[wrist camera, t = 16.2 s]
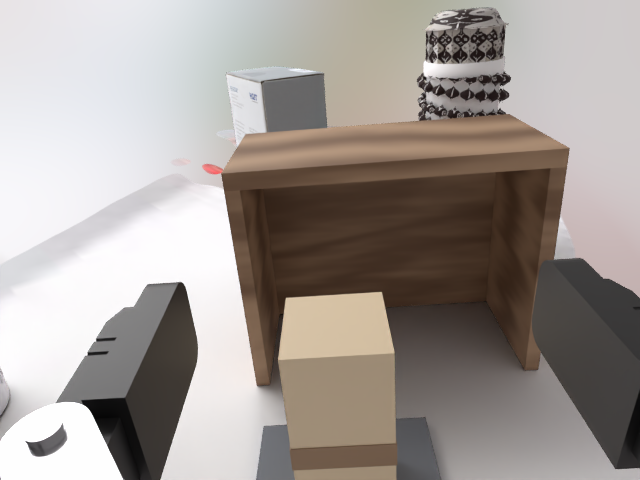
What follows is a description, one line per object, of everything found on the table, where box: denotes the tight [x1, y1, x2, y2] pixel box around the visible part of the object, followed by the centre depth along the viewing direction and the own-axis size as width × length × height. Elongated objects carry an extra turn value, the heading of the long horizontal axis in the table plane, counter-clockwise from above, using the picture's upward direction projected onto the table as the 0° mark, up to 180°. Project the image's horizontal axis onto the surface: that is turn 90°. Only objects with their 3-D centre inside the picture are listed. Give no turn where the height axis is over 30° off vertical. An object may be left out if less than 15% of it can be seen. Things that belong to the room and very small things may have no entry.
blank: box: [278, 292, 397, 480], centre depth 26 cm, size 5×5×12 cm
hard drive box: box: [226, 66, 327, 147], centre depth 62 cm, size 16×8×20 cm, turn 23°
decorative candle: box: [417, 7, 511, 121], centre depth 53 cm, size 9×9×25 cm
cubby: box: [221, 114, 569, 386], centre depth 39 cm, size 11×22×17 cm, turn 89°
